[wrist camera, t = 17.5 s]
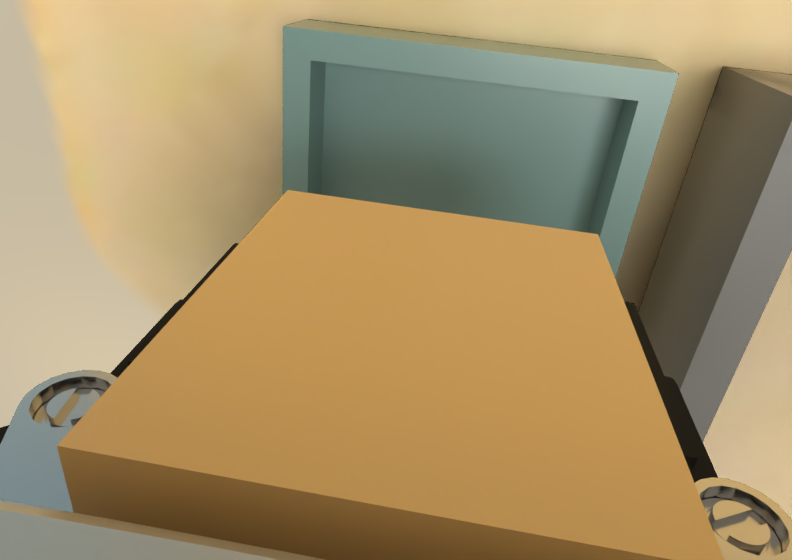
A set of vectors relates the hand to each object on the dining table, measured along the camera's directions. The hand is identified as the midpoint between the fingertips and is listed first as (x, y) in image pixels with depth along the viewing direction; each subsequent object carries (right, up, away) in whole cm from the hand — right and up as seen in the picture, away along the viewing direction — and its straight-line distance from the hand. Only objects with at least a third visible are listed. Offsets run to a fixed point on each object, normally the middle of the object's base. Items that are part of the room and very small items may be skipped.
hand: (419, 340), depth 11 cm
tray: (+1, +3, +9) cm, 10 cm away
